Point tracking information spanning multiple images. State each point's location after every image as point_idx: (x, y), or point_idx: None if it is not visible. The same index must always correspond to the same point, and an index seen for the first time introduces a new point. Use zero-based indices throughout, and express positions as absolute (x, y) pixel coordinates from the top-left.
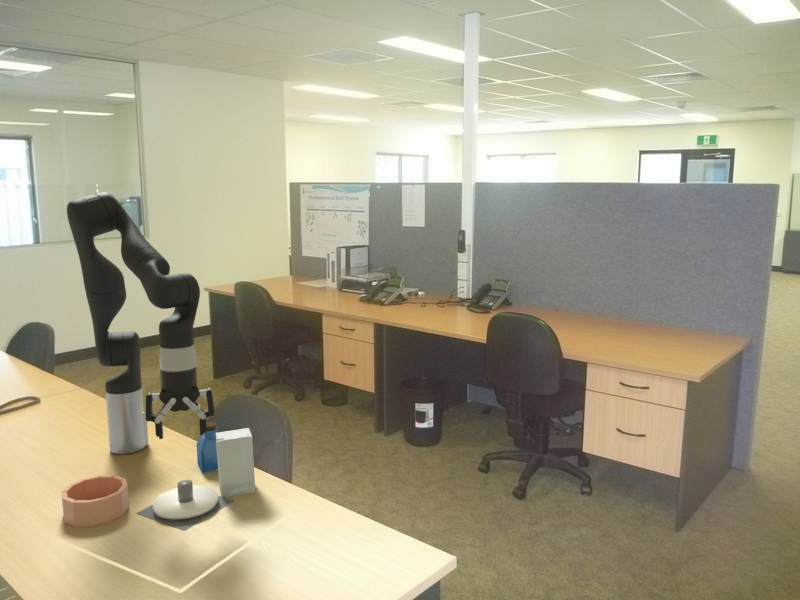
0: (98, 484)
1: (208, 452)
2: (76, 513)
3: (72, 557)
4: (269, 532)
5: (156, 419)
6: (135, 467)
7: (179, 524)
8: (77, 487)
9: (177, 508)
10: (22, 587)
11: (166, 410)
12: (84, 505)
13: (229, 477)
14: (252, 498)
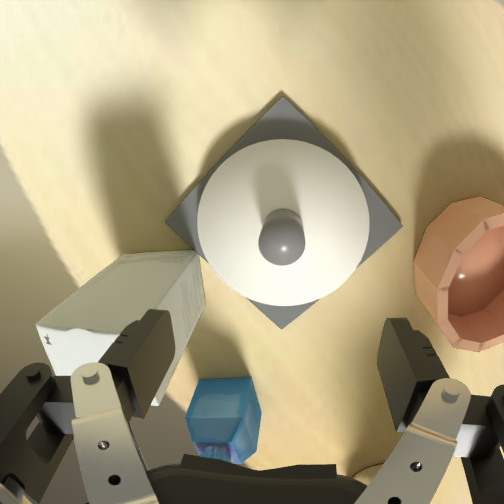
0: (476, 332)
1: (226, 413)
2: None
3: (494, 90)
4: (99, 71)
5: (461, 401)
6: (379, 427)
7: (297, 130)
8: None
9: (304, 180)
10: None
11: (408, 466)
12: None
13: (157, 268)
14: (129, 233)
